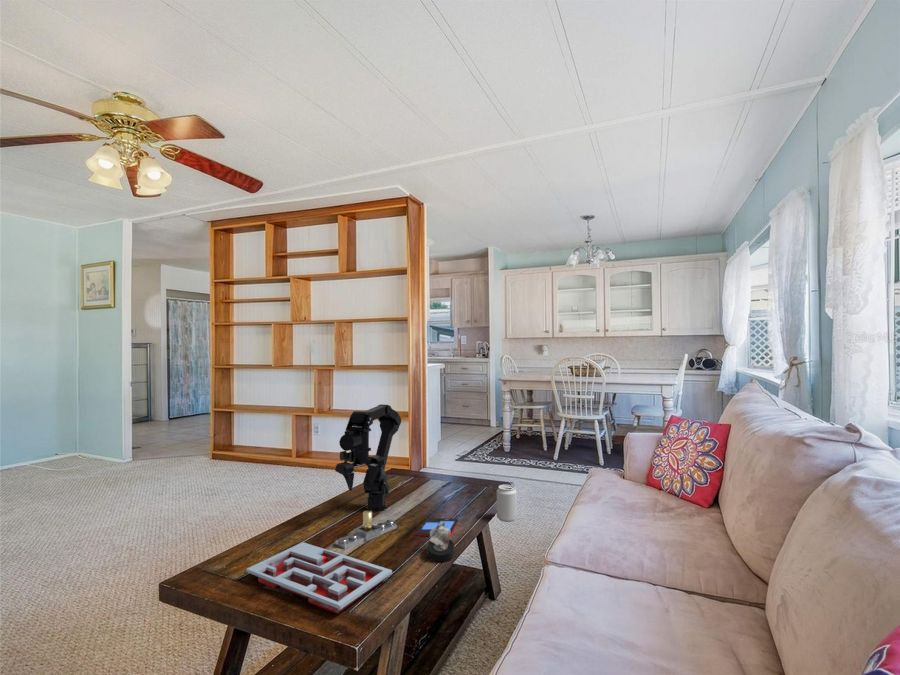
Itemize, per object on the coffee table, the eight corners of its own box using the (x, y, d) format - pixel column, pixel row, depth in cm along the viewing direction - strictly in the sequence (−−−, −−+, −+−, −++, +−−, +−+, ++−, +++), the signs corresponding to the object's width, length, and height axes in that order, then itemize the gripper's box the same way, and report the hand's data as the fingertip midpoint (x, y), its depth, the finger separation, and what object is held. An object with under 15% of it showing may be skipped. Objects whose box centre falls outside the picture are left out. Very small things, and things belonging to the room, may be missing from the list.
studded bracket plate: (387, 523, 160) (387, 516, 160) (398, 528, 156) (398, 520, 156) (333, 544, 143) (333, 536, 143) (344, 550, 139) (344, 542, 139)
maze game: (392, 582, 120) (392, 570, 120) (340, 619, 103) (340, 606, 103) (302, 552, 138) (302, 542, 138) (246, 580, 121) (246, 568, 121)
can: (510, 524, 160) (510, 490, 160) (492, 519, 164) (492, 487, 165) (520, 518, 166) (520, 485, 166) (503, 513, 170) (503, 482, 170)
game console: (426, 521, 164) (426, 515, 164) (459, 524, 161) (459, 518, 161) (414, 537, 150) (414, 530, 150) (450, 541, 147) (450, 534, 147)
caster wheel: (441, 572, 130) (418, 556, 137) (466, 552, 138) (444, 538, 144) (440, 553, 128) (417, 538, 135) (466, 533, 136) (443, 520, 143)
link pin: (368, 533, 152) (368, 509, 152) (373, 535, 150) (373, 511, 150) (361, 536, 149) (361, 512, 150) (366, 538, 147) (366, 514, 148)
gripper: (367, 438, 176) (367, 478, 176) (326, 446, 162) (326, 488, 162) (385, 442, 169) (385, 483, 169) (345, 450, 155) (344, 495, 154)
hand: (360, 487), depth 164 cm, fingers open, 9 cm apart
